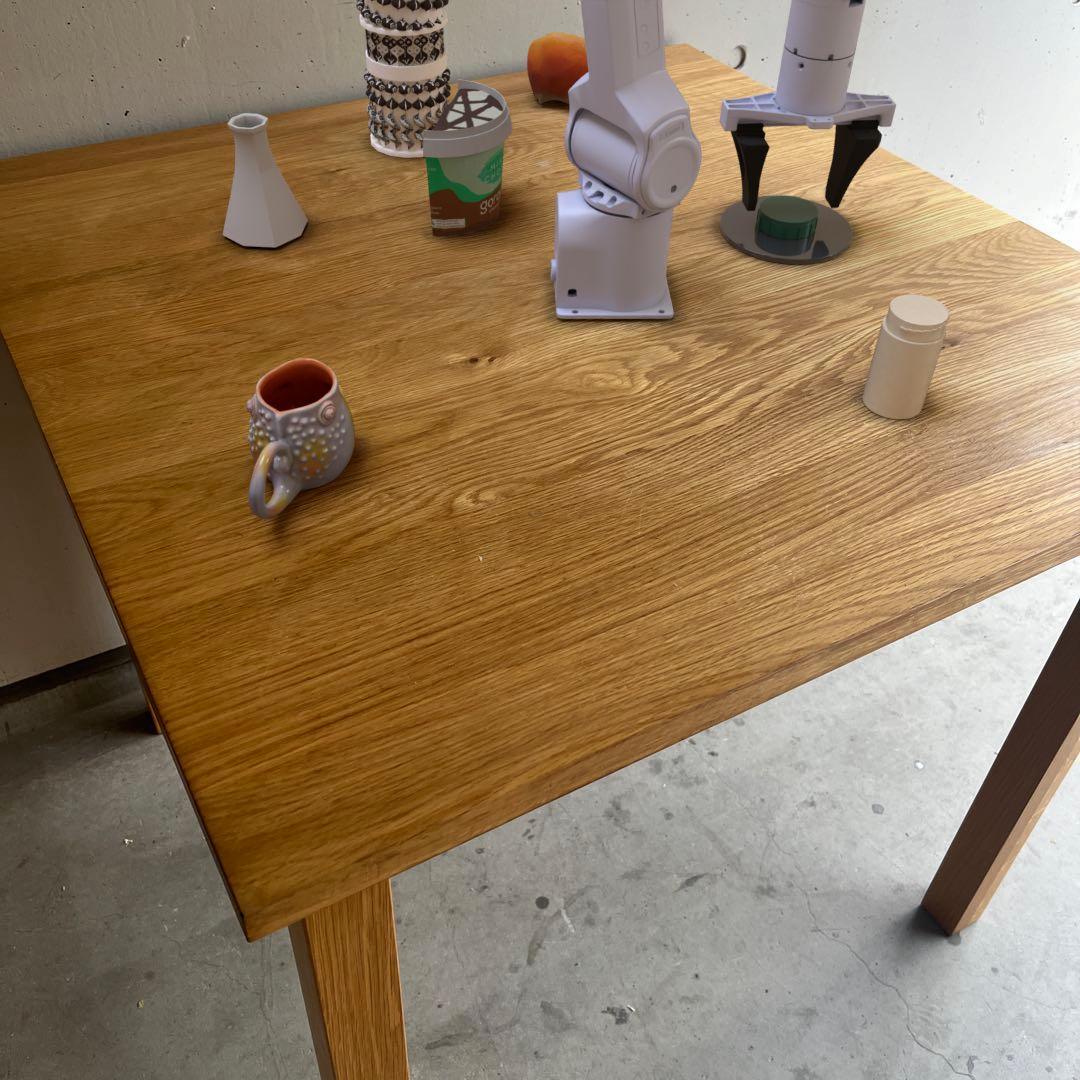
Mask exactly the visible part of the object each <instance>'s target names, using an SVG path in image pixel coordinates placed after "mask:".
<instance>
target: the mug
mask: <svg viewBox="0 0 1080 1080" xmlns="http://www.w3.org/2000/svg"><path fill="white" fill-rule="evenodd" d="M245 409H246V411H247V412H248V413H250V416H251V417H250V419H249V421H248V422H249V430H248V433H249V434H248V436H247V440H248V442H249V450H250V454H251V456H252V459H253V460H254V463H255V465H254V467H253V469H252V473H251V478H250V482H249V487H248V505H249V509H250V511H251V512H252V513H253V515H255V516H256V517H257V518H259V519H261V520H271V519H273V518H275V517H277V516H278V515H280V514H281V513H282V512H283V511H285V509H286V508H287V507H288V506H289V505H290V504H291V503H292V502H293V500H294V499H295V498H296V497H297V496H298V494H300V492H302V491H305V490H310V489H314V488H318V487H322V486H325V485H326V484H328V483H331V482H332V481H334V480H335V479H336V478H338V477H339V476H340V475H341V474H342V473H343V472H344V470H346V468H347V466H348V464H349V463H350V461H351V459H352V456H353V454H354V450H355V446H356V433H355V424H354V418H353V414H352V412H351V407H350V406H349V403H348V401H347V399H346V395H345V391H344V389H343V387H342V386H341V385H340V384H339V381H338V377H337V374H336V373H335V371H334V370H333V369H332V368H331V367H330V366H329V365H328V364H326V363H325V362H322V361H320V360H318V359H315V358H311V357H300V358H296V359H292V360H291V359H290V360H289V361H285V362H284V363H282V364H280V365H278V366H276V367H275V368H273V369H271V370H270V371H268V372H267V373H265V374H264V375H263V376H262V377H260V378H259V380H258V382H257V383H256V385H255V393H254V394H253V395H252V396H251V398H250V399H248V400H247V401H246V403H245ZM267 480H268V481H270V483H272V485H273V492H272V495H271V497H270V499H269V500H268V501H267V503H266V499H265V498H266V495H265V494H266V493H265V492H266V482H267Z"/></svg>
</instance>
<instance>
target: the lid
mask: <svg viewBox="0 0 1080 1080" xmlns="http://www.w3.org/2000/svg"><path fill="white" fill-rule="evenodd" d="M772 196H773V197H769V198H767V199H765V200H763V201H762V202H761V204H760V207H759V209H758V214H757V220H756V221H757V225H758V228H759V229H760V230H761V231H763V232H764V233H766V234H768V235H770V236H772V237H776V238H780V239H788V240H795V239H802V238H805V237H808V236H810V235H811V234H812V233H813V232H814V230H815V229H816V226H817V221H818V217H817V216H818V209H817V207H816V206H815V205H814V204H813V203H811V202H809V201H807V200H808V199H806V200H805V198H802V197H799V196H793V195H772Z"/></svg>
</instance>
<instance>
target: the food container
mask: <svg viewBox="0 0 1080 1080" xmlns="http://www.w3.org/2000/svg"><path fill="white" fill-rule="evenodd" d="M449 103H450V104H449V105H448V106H446V107H445V109H444V110H443V112H442V114H441V116H440V118H439V120H438V122H437V124H436V126H435V128H434V129H433V131H430V130H424V139H423V157H422V158H425V165H426V166H425V167H426V176H427V186H428V188H427V190H428V199H429V209H430V210H429V211H430V221H431V222H430V223H431V234H432V236H439V237H451V236H452V237H453V236H464V235H469V234H472V233H477V232H480V231H482V230H484V229H487V228H489V227H490V226H492V225H493V224H494V223H495V222H496V221H497V220H498V218H499V217H500V212H501V211H500V210H501V199H502V198H501V197H502V183H503V168H504V154H505V153H504V152H505V142H506V141H507V140H508V139H509V138H510V136H511V134H512V132H513V122H512V117H511V113H510V107H509V106H508V104H507V102H506V99H505V97H504V96H503V95H502V93H500V92H499V91H497V90H496V89H495V88H492V87H491V86H489V85H486V84H484V83H480V82H476V81H472V80H467V79H461V78H460V79H459V78H457V92H456V93H455V96H454V98H453V99H452V101H450V102H449Z"/></svg>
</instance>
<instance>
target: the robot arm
mask: <svg viewBox="0 0 1080 1080" xmlns="http://www.w3.org/2000/svg"><path fill="white" fill-rule="evenodd" d="M866 2H867V0H790V6H789V7H790V8H789V13H788V19H787V26H786V30H785V31H786V32H785V37H784V42H783V43H784V44H783V49H782V55H781V60H780V65H779V66H780V67H779V74H778V79H777V85H776V91H771V92H766V93H761V94H755V95H750V96H745V97H739V98H731V99H728V98H727V99H722V100H721V106H720V115H719V124H720V126H721V128H722V129H723V131H724V132H730V134H731V137H732V141H733V145H734V147H735V151H736V155H737V161H738V164H739V165H738V166H739V173H740V178H741V179H740V180H741V194H742V195H741V201H742V202H743V204H744V206H745V208H746V210H747V211H755V209H756V205H757V201H758V197H759V191H760V183H761V178H762V173H763V169H764V166H765V163H766V159H767V156H768V153H769V151H770V148H771V147H770V145H769V144H768V141H767V140H766V134H767V133H766V132H765V130H764V128H771V127H804V126H805V127H807V128H808V129H810V130H814V131H815V130H817V131H818V130H831V129H833V128H834V126H835V132H834V142H833V151H832V159H831V164H830V167H829V171H828V176H827V180H826V185H825V192H824V199H825V201H826V202H827V203H828V205H829V208H831V209H838V208H840V205H841V203H842V201H843V198H844V196H845V194H846V193H847V191H848V189H849V187H850V186H851V183H852V181H853V180H854V179H855V177H856V175H857V174H858V172H859V171H860V170H861V168H862V166H863V165H864V164H865V163H866V161H867V160H868V159H869V158H870V157H871V156H872V155H873V154H874V152H875V151H877V150H878V149H879V147H880V145H881V141H882V139H883V134H882V133H881V131H880V130H879V128H882V127H883V128H889V127H892V124H893V120H894V117H895V112H896V108H897V103H896V102H895V101H894V100H893V98H891V96H890V95H888V94H887V95H886V94H883V95H882V94H881V95H880V94H867V93H858V92H848V88H849V84H850V79H851V74H852V69H853V65H854V60H855V55H856V50H857V45H858V41H859V37H860V36H859V35H860V31H861V28H862V27H861V26H862V22H863V18H864V12H865V7H866V4H867V3H866ZM663 5H664V4H663V0H580V8H581V9H580V10H581V16H582V18H581V19H582V27H583V35H584V38H585V45H586V54H587V63H588V73H586V74H585V75H584V76H582V77H581V78H580V79H579V80H578V81H577V82H576V83H575V84H574V85H573V86H572V87H571V88H570V90H569V91H568V95H569V104H570V105H569V104H568V105H569V113H568V118H567V119H568V120H567V123H566V127H565V131H564V137H563V139H564V140H563V141H564V143H563V144H564V151H565V155H566V157H567V159H568V161H569V162H570V163H571V165H573V167H575V168H576V169H577V184H578V185H579V186H580V188H575V189H573V190H568V191H559V192H557V193H556V194H555V206H554V207H555V208H554V209H555V210H554V242H553V246H554V247H553V258H552V259H550V282H552V283H553V288H554V300H555V301H554V302H555V314H556V318H558V319H560V320H669V319H672V318H674V312H675V311H674V308H673V307H674V306H673V303H672V298H671V293H670V289H669V285H668V284H669V283H668V280H667V271H668V263H669V261H668V260H669V254H670V253H669V252H670V242H671V235H672V225H673V216H674V208H676V207H678V206H680V205H681V202H682V201H683V200H684V199H685V198H686V197H687V196H688V195H689V193H690V191H691V190H692V189H693V188H694V185H695V183H696V181H697V179H698V177H699V173H700V170H701V165H702V157H703V156H702V155H703V154H702V153H703V151H702V146H701V142H700V139H699V138H698V137H697V134H695V131H694V130H693V126H692V122H691V108H690V105H689V104H688V102H687V101H686V99H685V97H684V95H683V94H682V92H681V91H680V89H679V88H678V86H677V85H676V83H675V82H674V80H673V78H672V77H671V75H670V74H669V72H668V70H667V61H666V58H667V57H666V43H665V28H664V27H665V26H664V25H665V23H664V7H663Z"/></svg>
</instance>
